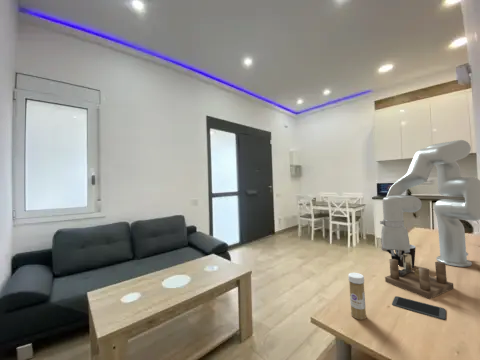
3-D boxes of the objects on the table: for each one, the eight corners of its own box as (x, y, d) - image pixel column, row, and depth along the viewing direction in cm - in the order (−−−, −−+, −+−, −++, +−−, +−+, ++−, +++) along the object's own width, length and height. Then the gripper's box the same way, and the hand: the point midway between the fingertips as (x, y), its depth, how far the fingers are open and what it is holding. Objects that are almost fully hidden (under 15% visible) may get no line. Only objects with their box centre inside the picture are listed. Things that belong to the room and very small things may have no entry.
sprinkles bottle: (349, 317, 71) (346, 275, 72) (352, 310, 75) (350, 271, 75) (365, 322, 69) (362, 279, 69) (368, 314, 72) (365, 274, 72)
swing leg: (405, 269, 99) (404, 253, 100) (413, 271, 97) (412, 254, 97) (395, 274, 94) (394, 258, 95) (403, 277, 92) (401, 260, 92)
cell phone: (445, 321, 67) (445, 319, 67) (391, 306, 77) (391, 304, 77) (446, 310, 72) (445, 308, 72) (395, 297, 82) (395, 295, 82)
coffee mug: (421, 269, 103) (419, 248, 103) (400, 269, 105) (399, 248, 105) (407, 260, 115) (406, 241, 115) (389, 260, 116) (388, 241, 116)
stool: (408, 273, 100) (407, 252, 100) (453, 288, 85) (451, 263, 85) (385, 281, 94) (383, 259, 94) (429, 299, 79) (427, 272, 79)
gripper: (376, 225, 99) (378, 265, 99) (416, 226, 93) (419, 269, 93) (373, 222, 106) (375, 260, 106) (410, 222, 100) (413, 262, 100)
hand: (396, 264), depth 99 cm, fingers closed
